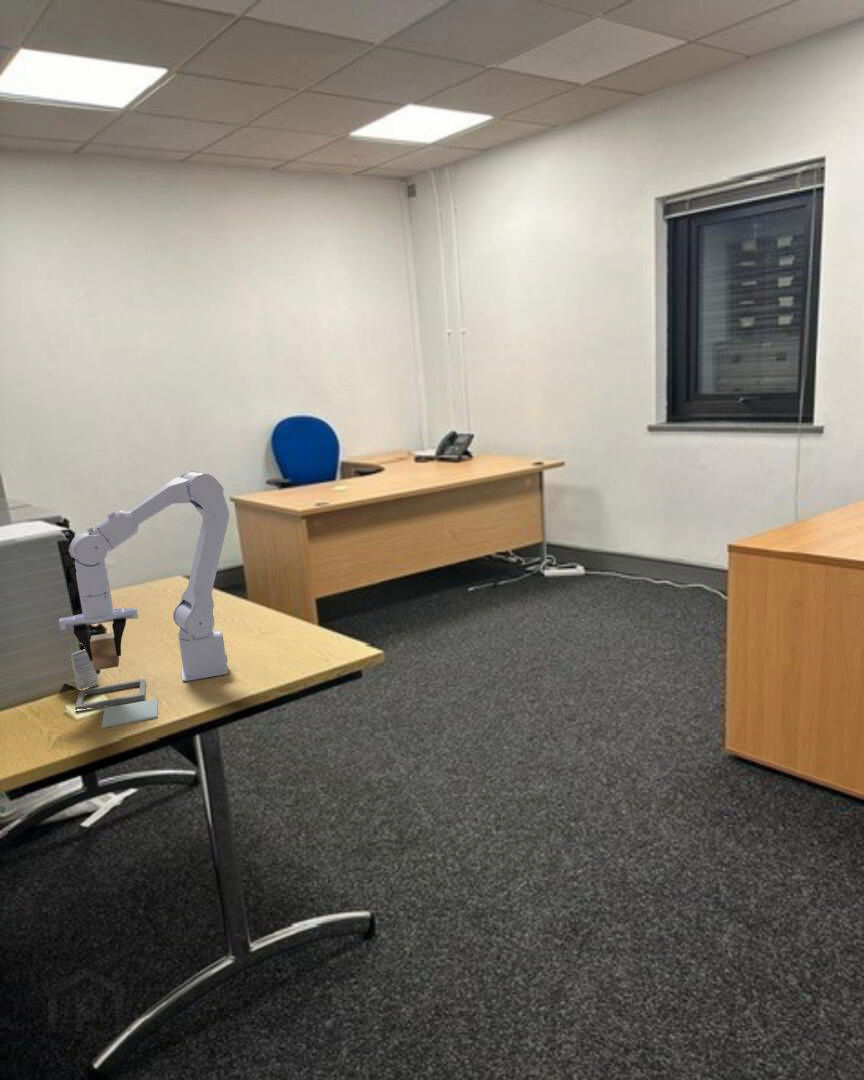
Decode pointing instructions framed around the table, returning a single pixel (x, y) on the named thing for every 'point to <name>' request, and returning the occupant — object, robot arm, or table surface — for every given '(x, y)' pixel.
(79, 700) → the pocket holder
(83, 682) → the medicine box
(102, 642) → the walnut block
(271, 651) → the table surface
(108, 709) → the mat
